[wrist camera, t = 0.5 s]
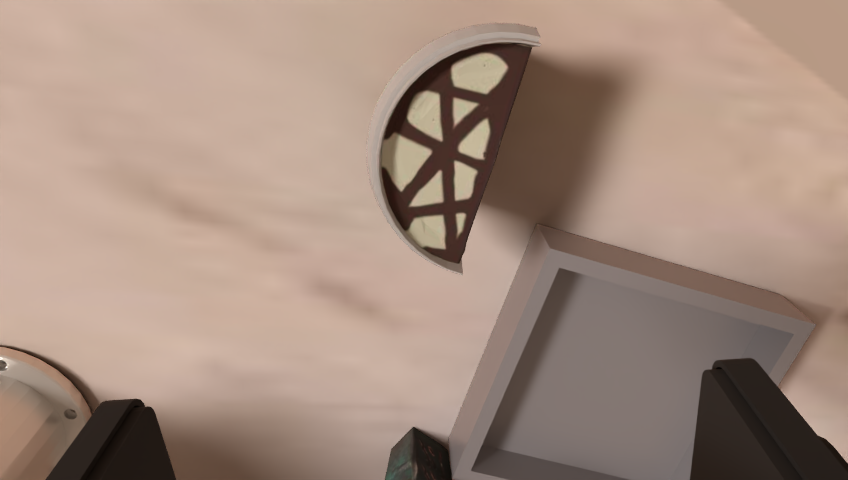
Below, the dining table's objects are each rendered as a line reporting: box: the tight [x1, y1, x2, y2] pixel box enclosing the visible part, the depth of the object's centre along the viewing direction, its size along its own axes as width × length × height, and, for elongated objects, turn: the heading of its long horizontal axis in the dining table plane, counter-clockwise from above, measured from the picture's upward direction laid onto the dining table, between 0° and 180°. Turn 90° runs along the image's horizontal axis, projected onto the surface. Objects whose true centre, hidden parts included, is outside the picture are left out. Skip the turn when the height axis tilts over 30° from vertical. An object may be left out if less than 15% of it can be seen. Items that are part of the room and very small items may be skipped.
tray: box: [448, 224, 816, 480], centre depth 44 cm, size 18×18×4 cm
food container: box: [367, 23, 541, 275], centre depth 33 cm, size 12×6×10 cm, turn 164°
